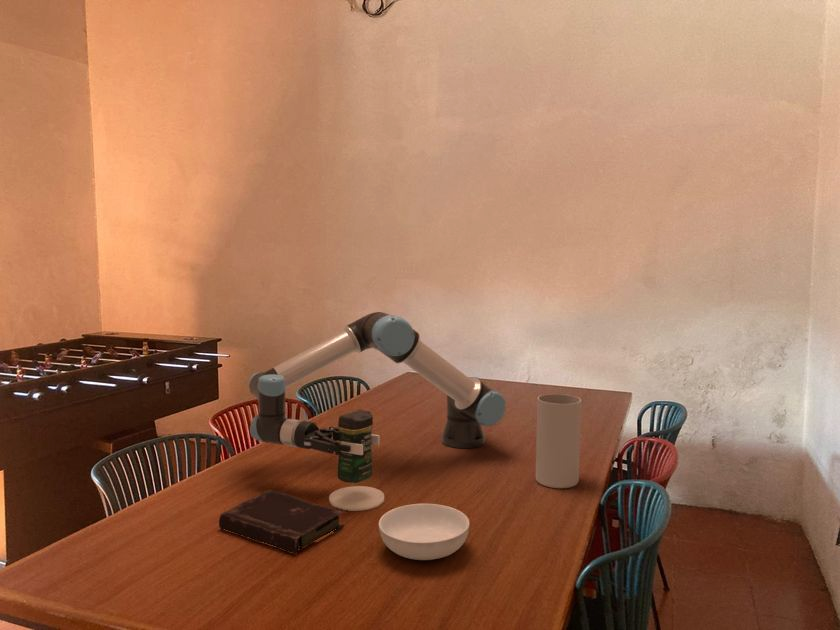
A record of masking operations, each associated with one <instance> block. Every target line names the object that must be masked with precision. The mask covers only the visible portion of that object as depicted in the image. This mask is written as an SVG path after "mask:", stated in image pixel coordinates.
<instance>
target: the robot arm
mask: <svg viewBox="0 0 840 630" xmlns="http://www.w3.org/2000/svg"><path fill="white" fill-rule="evenodd" d="M369 349H374V350H376V351H379V352H380V353H381V354H383V355H384V356H386V357H387V358H388V359H390V360H392V362H394V363H395V364H402V363H403V364H405V365H406V366H407V367H409V368H410V369H412V370H413V371H415V372H416V373H417V374H418V375H420V377H423V378H424V379H425V380H427V381H428V382H429V383H431V384H432V385H433V386H435V387H436V388H437V389H439V390H440V391H441V392H443V393H444V394H445V395H446V422H445V424H444V428H443V431H442V434H441V443H442V444H444V445H445V446H446V447H451V448H456V449H457V448H458V449H475V448H478V447H481V446H483V445H484V444H485V443H486V442H485V441H486V440H485V439H486V438H485V437H486V436H485V432H484V430H483V426H485V427H491V426H496V425H497V424H498V423H499V422H501V420H502V419H503V417H504V415H505V413H506V410H507V409H506V399H505V397H504V395H503V394H501V393H500V392H499V391H497V390H493V389H492V388H490V387H489V386H488V385H486V384H485V383H484V382H482V380H481V378H480V377H478V376H467V375H465V374H464V373H463V372H462V371H460V370H459V369H458V368H456V367H455V366H454V365H453V364H451V363H450V362H449V361H448V360H446V359H445V358H443V357H442V356H441V355H439V354H438V352H435V350H433V349H432V348H431V347H429V346H428V345H426V344H425V343H424V342H423V341H422V340H421V335H420V333H419V332H417V330H415V329H414V328H413V327H412V325H411V324H410V323H409V322H408V321H407V320H406V319H405V318H403V317H402V316H399V315H392V314H389V313H386V312H383V311H382V312H381V311H375V312H371V313H368V314H366V315H364V316H362V317H361V318H358V319H356V320H355V321H352V322H351V323H349V324H347V325H346V326H344V329H343V330H342V331H341V332H339V333H337V334H334V335H333V336H331V337H329V338H327V339H325V340H324V341H322V342H320V343H318V344H316V345H314V346H312V347H310V348H308V349H307V350H304V351H302V352H300V353H299V354H297V355H295V356H293V357H291V358H290V359H287V360H285V361H283V362H281V363H280V364H278V365H276V366H274V367H272V368H270V369H268V370H266V371H259V372H258V371H257V372H256V373H253V374H252V375H251V376H250V378H249V379H248V388H249V391H250V393H251V395H253V397H255V399H257V402H258V414H256V415H255V416H253V419H251V424H250V426H249V434H250V435H251V437H252V438H253V440H255V441H258V442H263V443H265V444H276V445H282V446H288V447H290V448H291V449H293V448H299V449H306V450H311V449H312V450H315V451H319V452H322V453H326V454H330V455H333V454H334V453H335V456H339V451H340V452H345V453H351V454H357V455H363V444H357V443H350V442H344V441H341V442H340V435H339V430H338V427H336V426H335V427H334V426H329V427H328V428H319V427H318V425H317V423H315V422H313V421H307V420H302V419H301V420H300V419H294V418H293V419H292V418H286V389H287V388H289V387H291V386H293V385H295V384H297V383H298V382H300V381H304V379H306V378H309V377H310V376H312V375H314V374H315V373H317V372H320V371H321V370H323V369H325V368H327V367H328V366H331V365H333V364H334V363H337V362H338V361H340V360H342V359H344V358H346V357H348V356H349V355H351V354H354V353H358V354H360V353H362V352H363V351H366V350H369ZM380 436H381V435H379V434H373V433H371V446H376V447H377V446H380V443H381V442H380V441H381V439H380Z"/></svg>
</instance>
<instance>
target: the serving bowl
mask: <svg viewBox="0 0 840 630" xmlns="http://www.w3.org/2000/svg"><path fill="white" fill-rule="evenodd" d="M378 531H379V535H380V538H381V539H382V541H383V543H384V544H385V546H386V547H387V548H388V549H389V550H391V552H393V553H395V554H397V555H398V556H400V557H403V558H406V559H410V560H416V561H417V560H418V561H432V560H436V559H441V558H445V557H448V556H450V555H452V554H453V553H455V552H456V551H458V550H459V549H460V548H461V547H462V546H463V545H464V543H465V542H466V540H467V538H468V536H469V535H468V534H469V531H470V519H469V517H468V516H467V515H466V514H465V513H463V512H462V511H460V509H459V510H458V509H456V508H454V507H451V506H447V505H443V504H438V503H414V504H413V503H412V504H406V505H402V506H398V507H394V508H393V509H390V510H389V511H387V512H385V513H384V514H383V515H382V516H381V517H380V519H379V520H378Z"/></svg>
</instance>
